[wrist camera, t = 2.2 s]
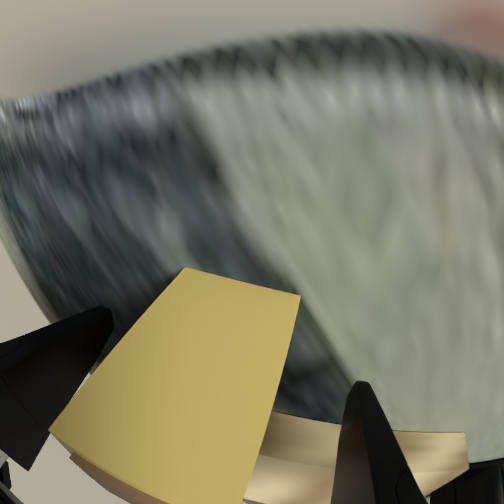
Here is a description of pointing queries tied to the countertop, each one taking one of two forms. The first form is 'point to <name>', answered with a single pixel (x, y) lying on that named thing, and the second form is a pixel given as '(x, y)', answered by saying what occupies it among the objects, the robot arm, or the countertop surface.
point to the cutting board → (324, 460)
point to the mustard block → (184, 394)
